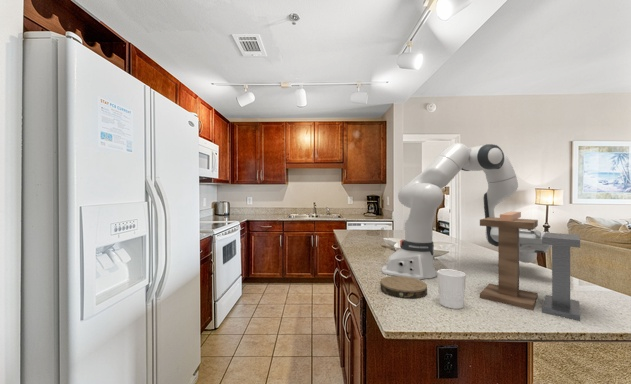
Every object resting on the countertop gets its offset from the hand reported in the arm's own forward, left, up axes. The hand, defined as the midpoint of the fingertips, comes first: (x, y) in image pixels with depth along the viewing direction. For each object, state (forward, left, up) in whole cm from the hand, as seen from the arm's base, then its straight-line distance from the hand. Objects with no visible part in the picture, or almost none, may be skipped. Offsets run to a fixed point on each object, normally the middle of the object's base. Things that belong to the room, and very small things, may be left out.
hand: (517, 228), depth 107 cm
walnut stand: (-7, -20, -21) cm, 30 cm away
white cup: (-25, -34, -21) cm, 47 cm away
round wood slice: (-40, -27, -22) cm, 53 cm away
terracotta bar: (-6, -16, +5) cm, 18 cm away
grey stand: (+5, -25, -21) cm, 33 cm away
